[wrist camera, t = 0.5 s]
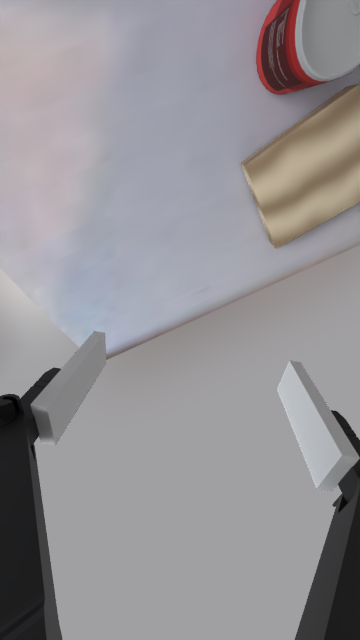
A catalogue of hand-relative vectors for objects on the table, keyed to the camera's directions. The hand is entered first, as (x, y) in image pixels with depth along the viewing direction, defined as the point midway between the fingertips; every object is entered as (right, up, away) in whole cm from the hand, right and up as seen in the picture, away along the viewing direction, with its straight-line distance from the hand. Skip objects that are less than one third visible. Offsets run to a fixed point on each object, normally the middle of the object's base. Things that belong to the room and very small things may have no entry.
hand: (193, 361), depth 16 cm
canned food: (+11, +34, +9) cm, 37 cm away
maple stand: (+17, +24, +18) cm, 35 cm away
